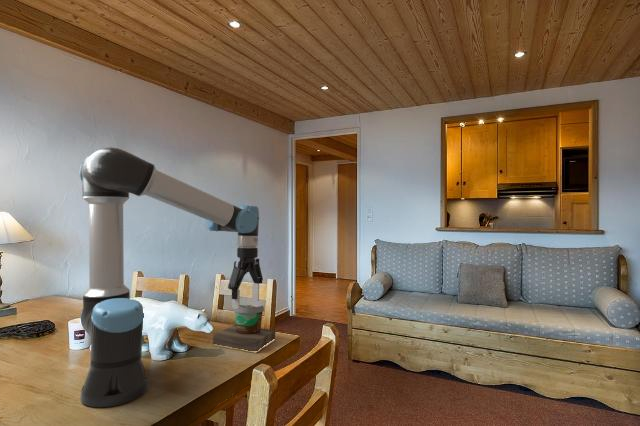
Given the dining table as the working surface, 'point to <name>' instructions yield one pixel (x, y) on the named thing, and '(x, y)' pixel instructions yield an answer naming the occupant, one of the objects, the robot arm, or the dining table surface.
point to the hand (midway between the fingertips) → (245, 304)
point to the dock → (243, 339)
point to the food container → (248, 319)
